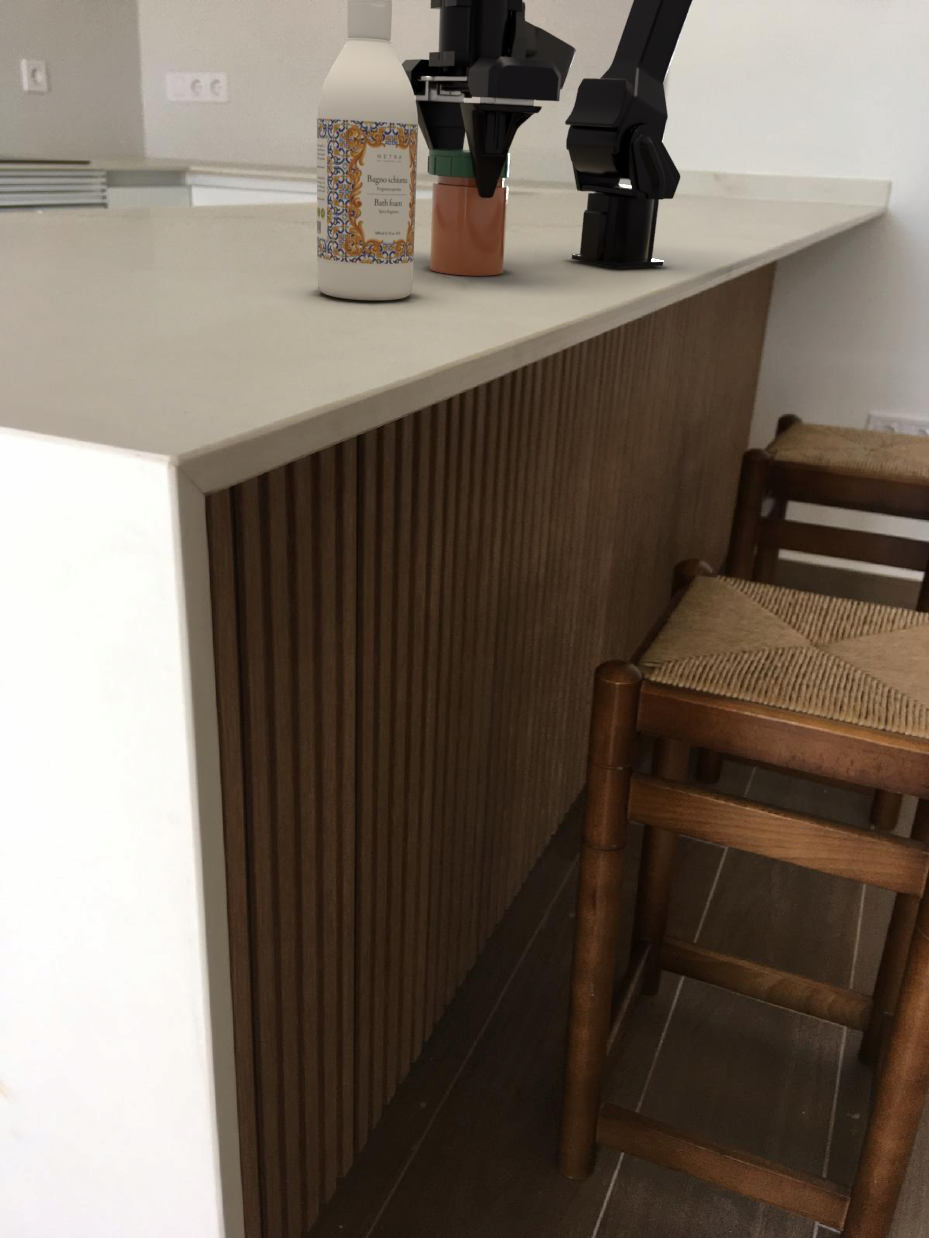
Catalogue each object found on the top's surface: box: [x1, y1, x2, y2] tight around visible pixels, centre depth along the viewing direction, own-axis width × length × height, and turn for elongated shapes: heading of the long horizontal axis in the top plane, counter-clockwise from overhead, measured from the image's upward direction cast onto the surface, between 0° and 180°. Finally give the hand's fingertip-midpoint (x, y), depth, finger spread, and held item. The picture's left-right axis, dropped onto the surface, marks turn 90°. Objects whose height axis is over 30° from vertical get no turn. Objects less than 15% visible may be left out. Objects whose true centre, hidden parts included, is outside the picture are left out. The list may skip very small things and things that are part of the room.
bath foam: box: [316, 0, 419, 301], centre depth 75 cm, size 7×7×20 cm
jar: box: [429, 176, 509, 277], centre depth 92 cm, size 6×6×9 cm
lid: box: [427, 148, 511, 179], centre depth 90 cm, size 7×7×2 cm
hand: (467, 194), depth 91 cm, fingers closed on lid, 6 cm apart
